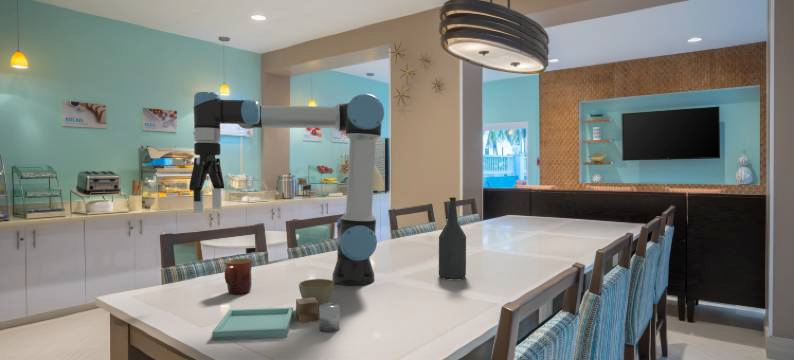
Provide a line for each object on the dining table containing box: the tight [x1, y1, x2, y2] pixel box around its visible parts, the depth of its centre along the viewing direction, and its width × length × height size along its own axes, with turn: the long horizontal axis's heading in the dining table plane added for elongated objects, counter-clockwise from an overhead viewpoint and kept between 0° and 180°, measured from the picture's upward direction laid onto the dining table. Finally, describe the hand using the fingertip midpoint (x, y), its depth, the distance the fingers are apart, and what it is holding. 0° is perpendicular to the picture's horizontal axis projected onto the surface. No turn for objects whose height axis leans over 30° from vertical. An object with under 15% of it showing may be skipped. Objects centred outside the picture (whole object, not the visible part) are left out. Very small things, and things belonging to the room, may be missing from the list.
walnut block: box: [295, 297, 319, 324], centre depth 122 cm, size 5×5×5 cm
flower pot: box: [298, 278, 335, 311], centre depth 132 cm, size 10×10×7 cm
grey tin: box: [318, 302, 340, 334], centre depth 114 cm, size 5×5×6 cm
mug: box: [224, 257, 254, 296], centre depth 146 cm, size 12×9×10 cm
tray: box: [211, 306, 294, 341], centre depth 116 cm, size 17×17×2 cm
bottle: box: [438, 196, 467, 280], centre depth 170 cm, size 10×10×30 cm
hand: (208, 210), depth 142 cm, fingers open, 13 cm apart
